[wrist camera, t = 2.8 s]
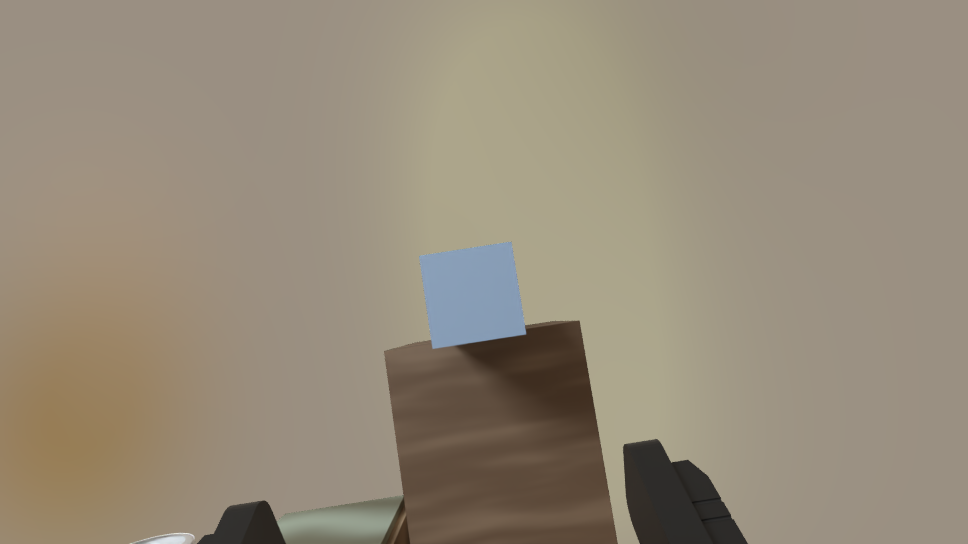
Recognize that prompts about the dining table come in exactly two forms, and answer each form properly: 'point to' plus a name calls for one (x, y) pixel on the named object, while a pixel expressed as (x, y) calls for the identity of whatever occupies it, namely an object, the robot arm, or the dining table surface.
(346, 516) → the tall wooden block
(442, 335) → the bar
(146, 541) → the jar
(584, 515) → the stand
